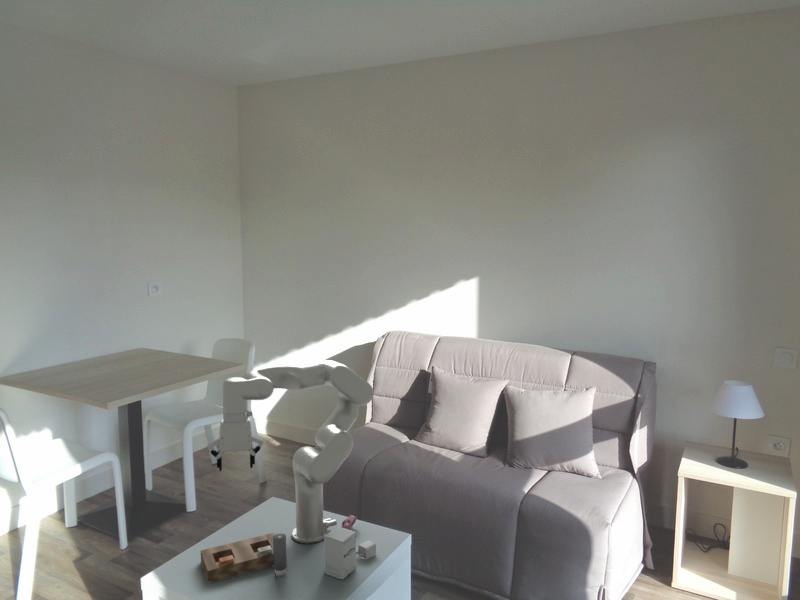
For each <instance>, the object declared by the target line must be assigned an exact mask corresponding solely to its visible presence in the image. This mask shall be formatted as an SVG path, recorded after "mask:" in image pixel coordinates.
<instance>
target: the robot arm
mask: <svg viewBox="0 0 800 600" xmlns="http://www.w3.org/2000/svg"><path fill="white" fill-rule="evenodd" d="M323 386H331V387H332V388H334V389H336V390H337V403H336V407H335V408H334V409H333V410H332V413H331V414H330V415H329V417H328V418H327V419H326V420H325V421H324V422H323V423H322V425H321V426H320V427H319V429H318V430H317V432H316V433H315V437H314V439H315V443H316V445H317V446H318V447H319V448H320V449H321V451H320V450H318V449H316V448H315V447H313V446H308V445H307V446H306V445H305V446H301V447H300V448H298V449H297V450H295V453H294V454H293V457H292V470H293V476H294V485H295V487H294V488H295V526H296V527H295V528H293V530H292V532H291V537H292V539H293V540H294V541H295V542H296V543H297V542H298V543H301V544H314V543H318V542H321V541H322V540H323V541H324V536H325V535H326V534H328V533H329V529H328V528H329V527H335V526H337V525H338V523H337V520H336V519H333V520H332V519H331V518H330V517H329V518H325V519H324V494H323V493H324V484H325V483H327V482H328V481H330V480H331V479H332V477H333V476H334V475H335V474H336V472H337V471H338V470H339V469H340V468H341V466H342V464H343V463H344V462H345V461H346V459H347V458H348V457H349V456H350V454H351V452H352V450H353V446H354V438H353V435H352V434H351V433H350V429H351V428H352V427H353V425H354V423H356V420H357V418H358V416H359V411H360V410H359V409H360V408H359V407H360V406H366V405H367V404H369V403H371V401H372V399H373V397H374V390H373V387H372V385H371V384H370V383H369V382H368V381H367V380H365V379H364V378H363V377H361V376H360V375H359V374H357V373H356V372H355V371H354V370H353V369H352V368H350V367H349V366H347V365H346V364H343V363H340V362H338V361H336V360H332V359H327V360H326V359H325V360H321V361H316V362H310V363H306V364H300V365H290V366H289V365H287V366H275V367H273V366H272V367H266V368H259V369H255V370H250V371H248V372H247V373H245V374H243V375H242V377H241V376H240V377H239V376H234V377H228V378H226V379H224V380H223V381H222V414H223V415H222V417H223V418H222V419H221V421H220V424H219V437H218V438H217V439H215V440H213V441H211V442H210V443H208V444H207V449H208V451H209V452H210V454H211V455H212V456H213V457H215V459H216V468H218V469H219V471H218V472H222V471H223V467H222V466H223V465H222V463H223V462H222V456H223V455H224V454H229V453H238V452H239V453H240V452H248V453H249V466H250V468H251V469H253V468H254V467H253V466H254V465H255V464H256V461H255V459H256V455H257V453H258V452H259V451H260V450H261V448H262V446H263V445H264V440H263V439H261V438H259V437H256V436H255V435H253V432H252V431H253V430H252V423H251V419H250V418H249V417H253V411H249V410H248V401H263V400H264V401H265V400H266V399H268V398H270V397H271V396H272V395H273V393H274V390H275V389H282V390H283V389H284V390H290V391H299V392H300V391H305V390H309V389H315V388H319V387H323ZM254 442H255V443H256V444H257V445H256V446H255V447H253V443H254ZM218 445H219V449H218V451H217V450H216V449H214V447H216V446H218Z"/></svg>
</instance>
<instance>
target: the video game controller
mask: <svg viewBox="0 0 800 600" xmlns="http://www.w3.org/2000/svg"><path fill="white" fill-rule="evenodd" d="M357 518H358V517H357V516H355V515H352V514H351V515H349V516H348V517H347V518H345V519H344V520H343V521H342V523H341V526H342V528H345V529H348V530H351V531H353V525H355V523H356V521H357Z"/></svg>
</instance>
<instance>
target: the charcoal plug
mask: <svg viewBox="0 0 800 600" xmlns="http://www.w3.org/2000/svg"><path fill="white" fill-rule="evenodd" d="M273 559H274V566H273V569H274V573H275V576H277V577H283V576H284V575H285V574H286V571H287V570H286V569H287V566H288V563H287V561H288V560H287V535H286V534H285V533H277V534H276V533H275V535H274V536H273Z"/></svg>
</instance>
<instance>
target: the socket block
mask: <svg viewBox="0 0 800 600" xmlns="http://www.w3.org/2000/svg"><path fill="white" fill-rule="evenodd" d="M274 535H276V533H274V532H271V533H267V534H263V535H259V536H255V537H254V536H253V537H249V538H247V539H243V540H238V541H235V542H230V543H227V544H223V545H218V546H214V547H210V548H206V549H202V550H200V563H201V566H202V569H203V571H204V575H205V578H206V582H207V584H210V583H215V582H219V581H223V580H226V579H230V578H232V577H238V576H242V575H245V574H247V573H251V572H252V573H253V572H255V571H258V570H263V569H266V568H270V567H274V559H273V536H274Z"/></svg>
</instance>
